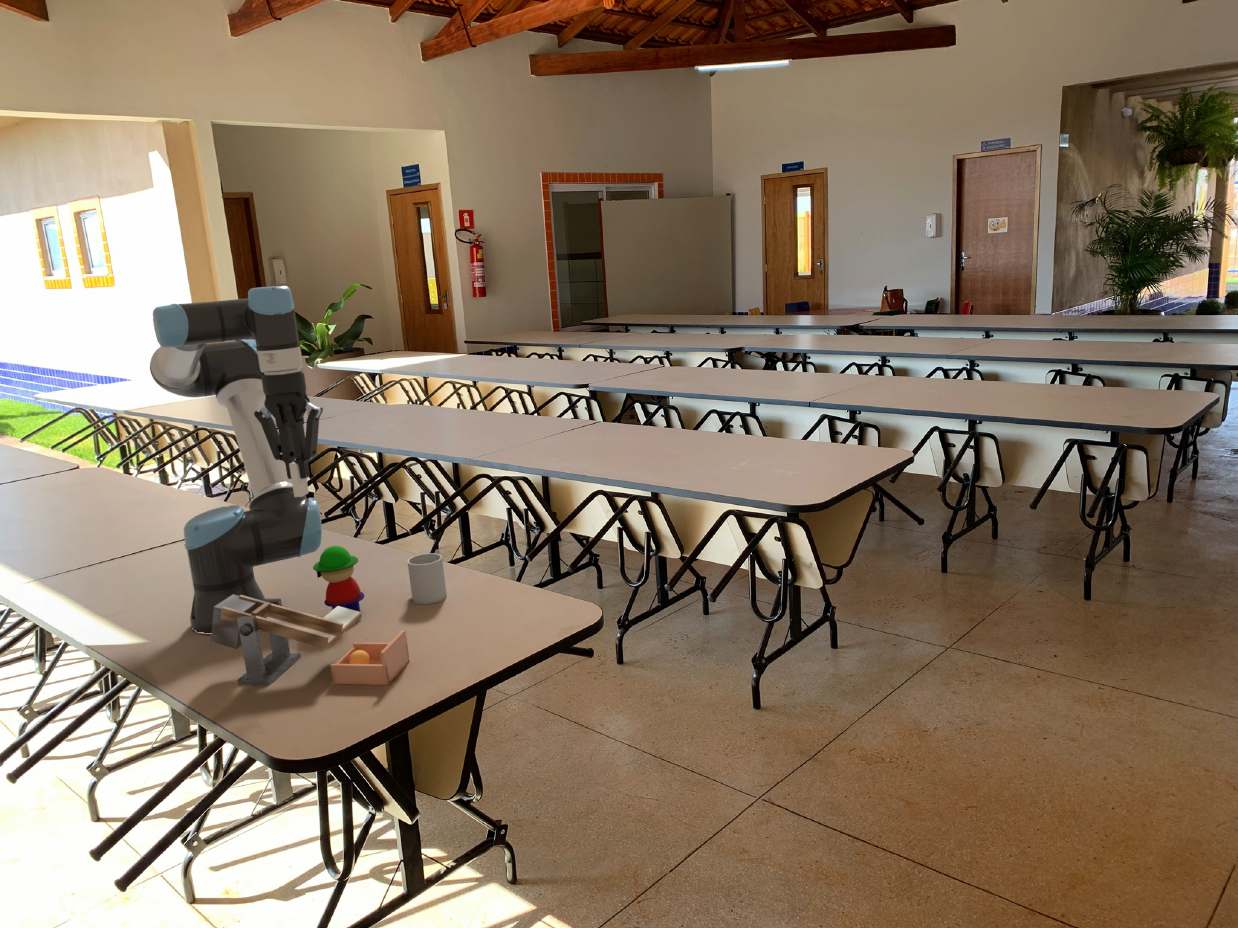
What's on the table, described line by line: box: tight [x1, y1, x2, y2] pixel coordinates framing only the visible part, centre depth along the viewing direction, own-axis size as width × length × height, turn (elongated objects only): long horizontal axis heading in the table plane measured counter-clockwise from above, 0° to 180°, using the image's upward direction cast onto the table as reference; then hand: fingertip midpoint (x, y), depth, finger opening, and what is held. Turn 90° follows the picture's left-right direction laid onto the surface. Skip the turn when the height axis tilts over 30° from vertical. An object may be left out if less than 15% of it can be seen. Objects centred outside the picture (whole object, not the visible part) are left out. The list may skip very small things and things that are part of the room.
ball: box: [349, 650, 370, 664], centre depth 160 cm, size 4×4×4 cm
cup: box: [407, 552, 447, 606], centre depth 194 cm, size 7×10×9 cm
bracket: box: [236, 598, 302, 686], centre depth 163 cm, size 6×11×12 cm, turn 170°
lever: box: [210, 594, 363, 650], centre depth 166 cm, size 22×14×8 cm, turn 80°
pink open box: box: [330, 629, 410, 686], centre depth 160 cm, size 10×9×6 cm
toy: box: [312, 545, 365, 612], centre depth 186 cm, size 9×9×15 cm
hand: (301, 494), depth 172 cm, fingers closed
